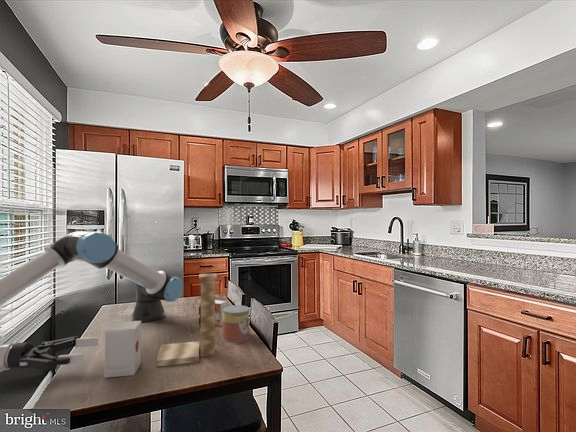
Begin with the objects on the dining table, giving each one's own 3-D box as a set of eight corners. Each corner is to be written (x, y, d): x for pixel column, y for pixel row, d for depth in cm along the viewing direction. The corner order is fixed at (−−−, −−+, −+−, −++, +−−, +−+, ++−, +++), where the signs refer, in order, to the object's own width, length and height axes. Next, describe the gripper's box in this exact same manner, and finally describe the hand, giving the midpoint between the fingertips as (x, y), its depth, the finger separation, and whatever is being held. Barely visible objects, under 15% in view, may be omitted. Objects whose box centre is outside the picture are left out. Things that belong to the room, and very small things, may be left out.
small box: (206, 324, 150) (206, 301, 150) (213, 320, 156) (213, 299, 156) (220, 326, 147) (220, 303, 147) (227, 322, 153) (227, 300, 153)
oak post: (198, 357, 114) (199, 276, 114) (198, 350, 120) (199, 273, 121) (216, 355, 116) (217, 276, 116) (215, 348, 122) (216, 273, 122)
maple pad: (156, 366, 107) (156, 360, 107) (161, 349, 120) (161, 344, 120) (198, 361, 111) (198, 356, 111) (199, 346, 124) (199, 341, 124)
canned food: (236, 344, 126) (237, 314, 127) (216, 338, 132) (216, 309, 132) (254, 335, 136) (254, 307, 136) (234, 330, 142) (234, 303, 142)
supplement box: (134, 375, 101) (135, 328, 101) (103, 378, 99) (104, 330, 99) (141, 363, 110) (141, 320, 110) (113, 365, 108) (113, 321, 108)
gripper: (33, 351, 108) (102, 345, 114) (-15, 390, 84) (75, 379, 90) (34, 330, 108) (102, 324, 114) (-15, 361, 84) (76, 353, 90)
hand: (91, 349), depth 102 cm, fingers open, 13 cm apart
